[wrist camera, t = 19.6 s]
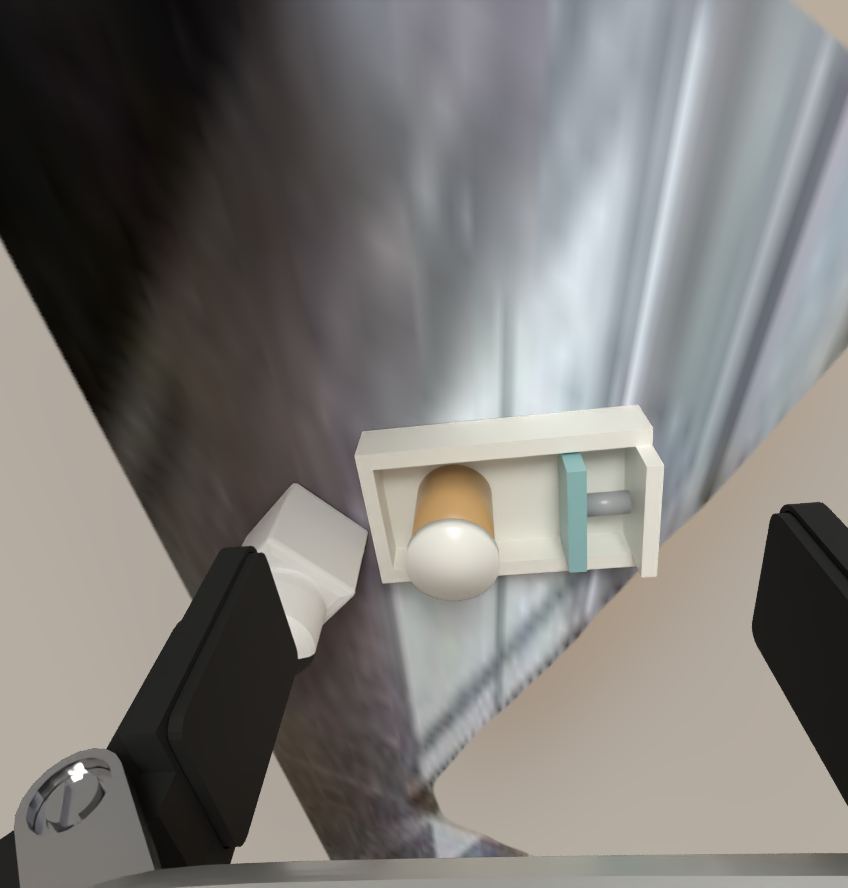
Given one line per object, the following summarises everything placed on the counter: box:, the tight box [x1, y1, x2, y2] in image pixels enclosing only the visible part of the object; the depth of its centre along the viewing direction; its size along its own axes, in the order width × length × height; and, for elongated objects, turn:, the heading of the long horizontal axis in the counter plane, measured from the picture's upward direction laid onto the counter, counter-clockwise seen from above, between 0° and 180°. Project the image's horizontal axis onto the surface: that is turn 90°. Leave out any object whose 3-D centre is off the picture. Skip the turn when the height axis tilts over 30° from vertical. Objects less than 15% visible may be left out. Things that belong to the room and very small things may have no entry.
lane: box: [355, 405, 664, 583], centre depth 41 cm, size 11×19×6 cm, turn 98°
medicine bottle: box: [242, 483, 368, 674], centre depth 41 cm, size 7×7×12 cm
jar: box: [405, 465, 500, 601], centre depth 40 cm, size 6×6×8 cm
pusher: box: [558, 452, 632, 573], centre depth 40 cm, size 8×4×4 cm, turn 8°
